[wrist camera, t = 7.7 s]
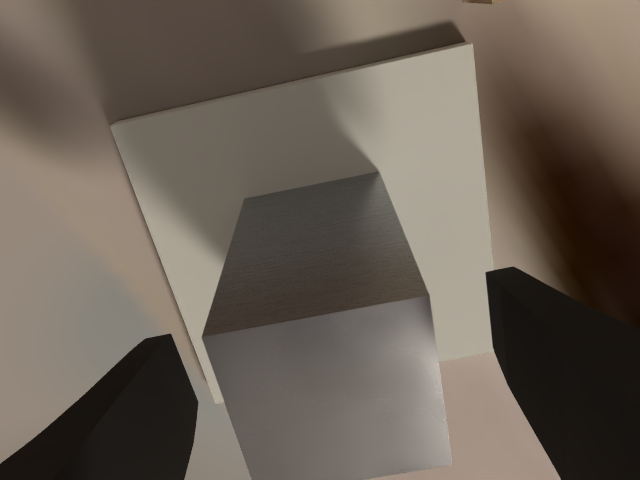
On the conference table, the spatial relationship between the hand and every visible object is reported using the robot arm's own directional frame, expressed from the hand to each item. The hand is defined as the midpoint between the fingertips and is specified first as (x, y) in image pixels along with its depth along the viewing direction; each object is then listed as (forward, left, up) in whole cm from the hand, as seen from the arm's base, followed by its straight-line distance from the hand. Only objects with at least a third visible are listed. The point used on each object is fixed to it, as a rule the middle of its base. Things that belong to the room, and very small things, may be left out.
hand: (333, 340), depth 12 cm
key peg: (0, 0, -5) cm, 5 cm away
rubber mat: (0, 0, -5) cm, 5 cm away
